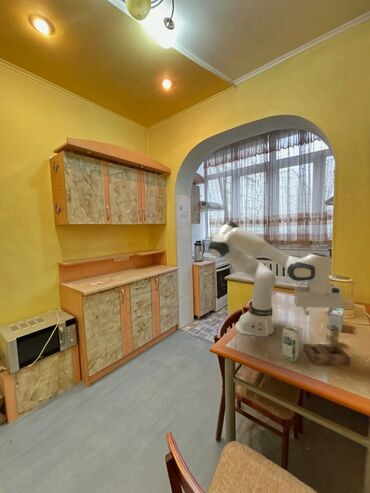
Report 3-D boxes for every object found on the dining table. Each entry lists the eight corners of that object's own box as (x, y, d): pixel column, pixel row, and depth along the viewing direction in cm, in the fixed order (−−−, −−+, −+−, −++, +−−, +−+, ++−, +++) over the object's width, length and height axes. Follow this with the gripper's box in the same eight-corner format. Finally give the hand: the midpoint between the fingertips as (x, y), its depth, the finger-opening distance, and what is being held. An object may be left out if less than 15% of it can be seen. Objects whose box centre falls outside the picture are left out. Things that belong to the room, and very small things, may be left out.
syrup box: (281, 357, 106) (282, 329, 104) (286, 351, 110) (287, 324, 108) (294, 362, 102) (295, 333, 100) (298, 356, 106) (299, 328, 104)
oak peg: (330, 345, 115) (330, 328, 114) (325, 340, 119) (326, 325, 118) (338, 345, 114) (339, 329, 113) (333, 340, 118) (334, 325, 117)
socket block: (312, 364, 101) (312, 356, 100) (302, 351, 110) (303, 343, 110) (349, 365, 99) (350, 357, 98) (336, 351, 109) (337, 344, 108)
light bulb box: (329, 322, 138) (330, 306, 137) (342, 325, 134) (344, 308, 133) (327, 329, 130) (328, 312, 129) (341, 332, 126) (342, 315, 125)
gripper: (296, 289, 102) (296, 317, 104) (345, 289, 98) (344, 319, 100) (292, 285, 108) (292, 311, 110) (338, 285, 104) (337, 313, 106)
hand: (317, 315), depth 105 cm, fingers open, 8 cm apart
